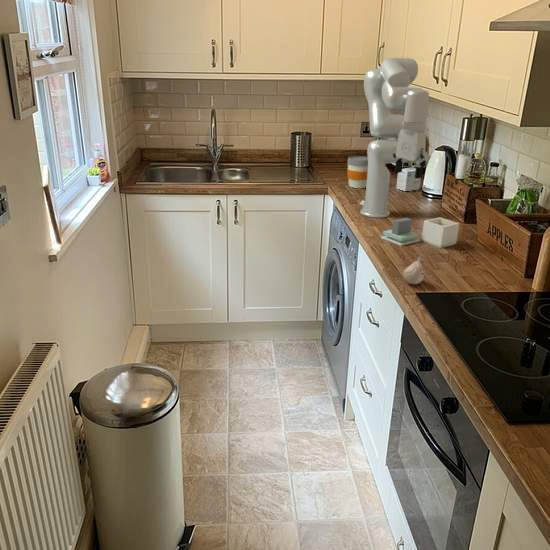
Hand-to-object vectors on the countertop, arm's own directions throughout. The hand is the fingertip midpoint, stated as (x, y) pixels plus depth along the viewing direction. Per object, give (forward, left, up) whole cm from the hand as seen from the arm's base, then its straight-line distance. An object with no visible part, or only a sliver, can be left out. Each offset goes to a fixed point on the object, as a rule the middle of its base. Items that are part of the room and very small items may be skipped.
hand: (407, 175), depth 202 cm
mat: (0, 0, -24) cm, 24 cm away
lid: (0, 0, -23) cm, 23 cm away
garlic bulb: (+32, -29, -25) cm, 49 cm away
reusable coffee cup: (-71, +44, -25) cm, 87 cm away
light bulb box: (-54, +63, -25) cm, 87 cm away
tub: (+10, +9, -24) cm, 28 cm away
